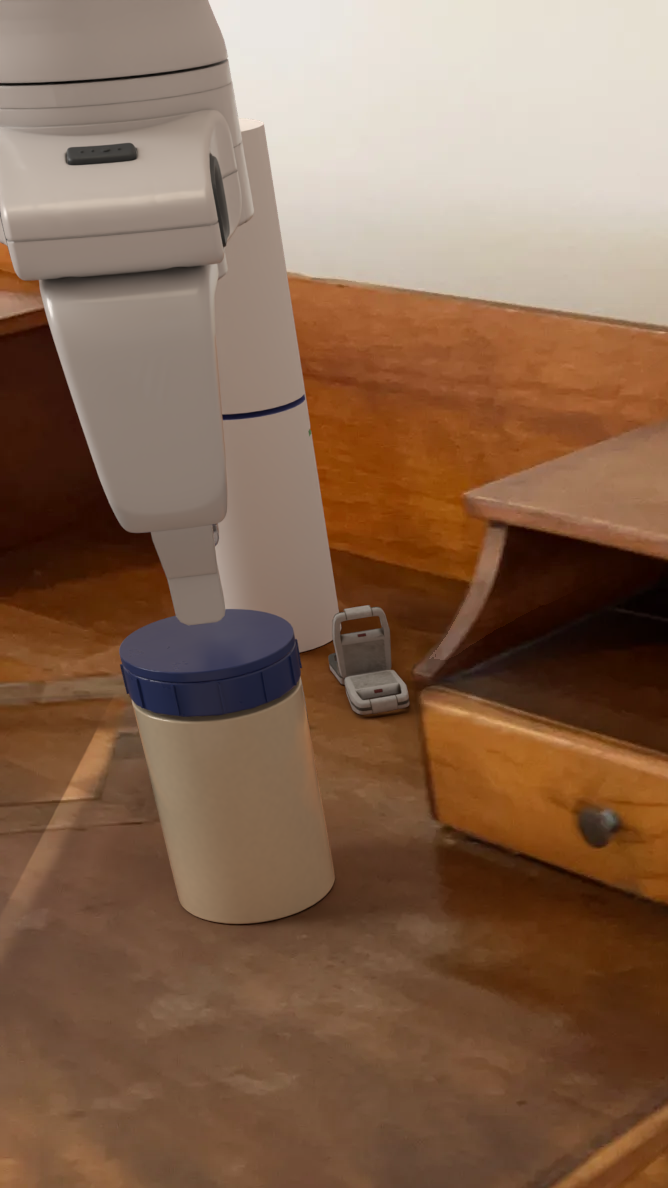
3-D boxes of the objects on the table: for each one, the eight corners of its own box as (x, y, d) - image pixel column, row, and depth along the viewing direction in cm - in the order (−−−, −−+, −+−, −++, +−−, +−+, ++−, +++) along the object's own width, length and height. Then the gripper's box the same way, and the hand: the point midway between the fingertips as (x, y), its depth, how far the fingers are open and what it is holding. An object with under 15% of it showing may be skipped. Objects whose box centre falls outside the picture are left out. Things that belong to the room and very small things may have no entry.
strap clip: (414, 711, 89) (404, 631, 87) (357, 720, 89) (345, 640, 86) (379, 654, 96) (368, 578, 93) (325, 663, 95) (313, 586, 92)
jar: (165, 928, 72) (106, 689, 66) (192, 853, 77) (140, 625, 71) (326, 920, 72) (283, 680, 66) (342, 845, 78) (304, 616, 71)
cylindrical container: (195, 652, 97) (87, 138, 81) (248, 607, 102) (156, 118, 87) (312, 660, 95) (225, 138, 80) (359, 614, 101) (287, 117, 85)
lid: (113, 721, 66) (102, 677, 65) (146, 655, 72) (136, 613, 71) (290, 712, 66) (282, 667, 65) (310, 647, 72) (303, 604, 71)
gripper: (36, 139, 65) (123, 510, 74) (-4, 228, 50) (112, 686, 58) (203, 126, 66) (269, 494, 75) (215, 210, 51) (297, 662, 59)
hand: (200, 579), depth 67 cm, fingers open, 7 cm apart
